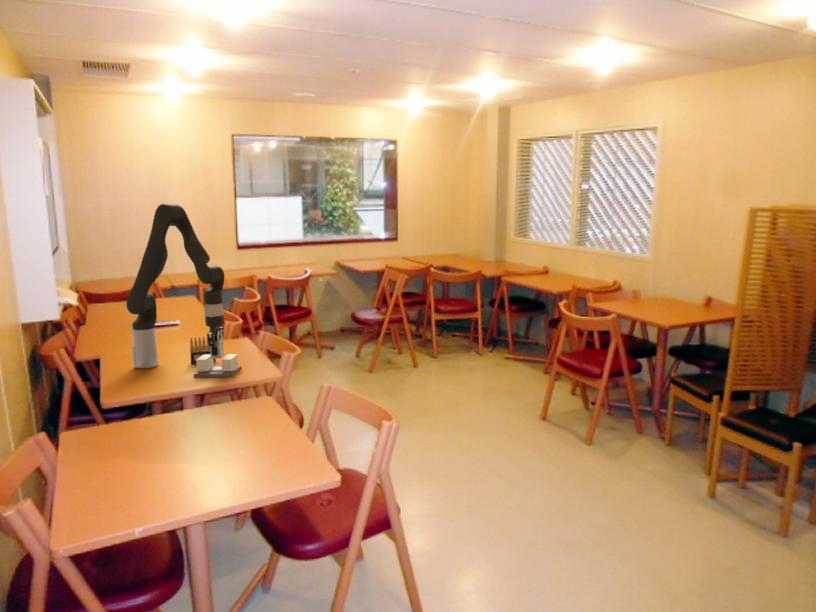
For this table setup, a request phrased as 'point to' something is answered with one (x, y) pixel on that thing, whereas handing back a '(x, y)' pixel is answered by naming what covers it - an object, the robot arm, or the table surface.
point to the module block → (218, 348)
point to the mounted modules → (207, 362)
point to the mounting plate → (216, 372)
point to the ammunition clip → (198, 349)
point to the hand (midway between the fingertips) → (217, 353)
